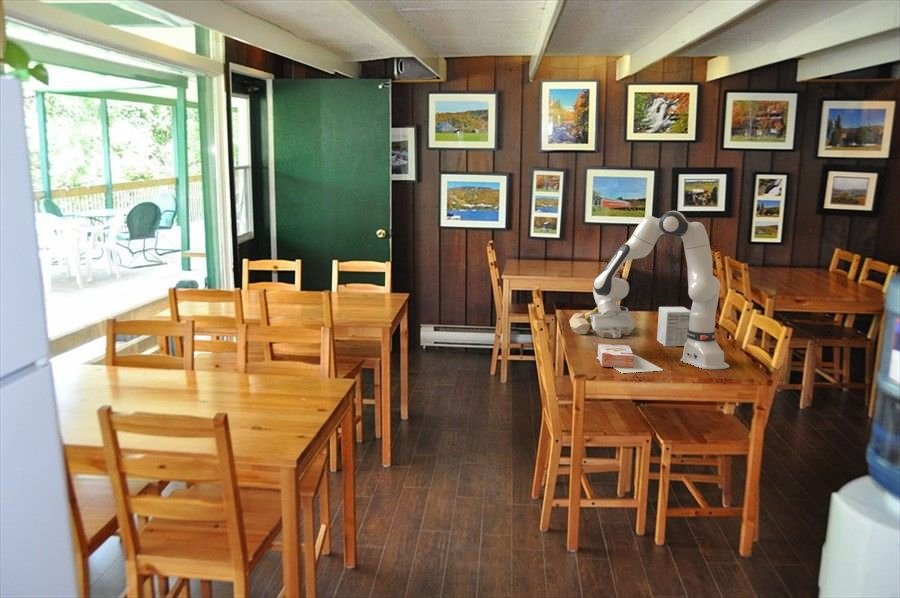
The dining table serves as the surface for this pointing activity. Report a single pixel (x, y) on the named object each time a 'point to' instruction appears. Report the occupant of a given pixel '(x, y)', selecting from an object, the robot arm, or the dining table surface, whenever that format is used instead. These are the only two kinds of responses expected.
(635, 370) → the felt mat
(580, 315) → the campfire
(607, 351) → the cracker box
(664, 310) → the supplement box
